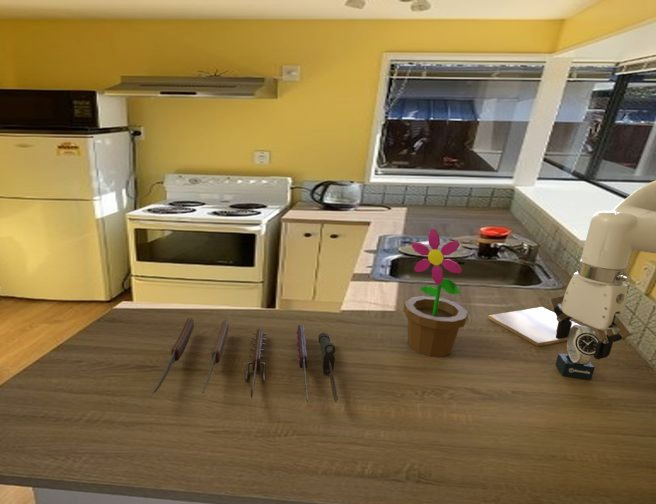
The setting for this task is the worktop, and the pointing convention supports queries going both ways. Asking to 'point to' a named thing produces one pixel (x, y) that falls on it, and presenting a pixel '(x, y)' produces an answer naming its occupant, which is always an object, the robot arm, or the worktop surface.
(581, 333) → the watch
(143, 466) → the worktop surface
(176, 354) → the knife set
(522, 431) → the worktop surface
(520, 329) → the board
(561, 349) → the worktop surface
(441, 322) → the flowerpot
